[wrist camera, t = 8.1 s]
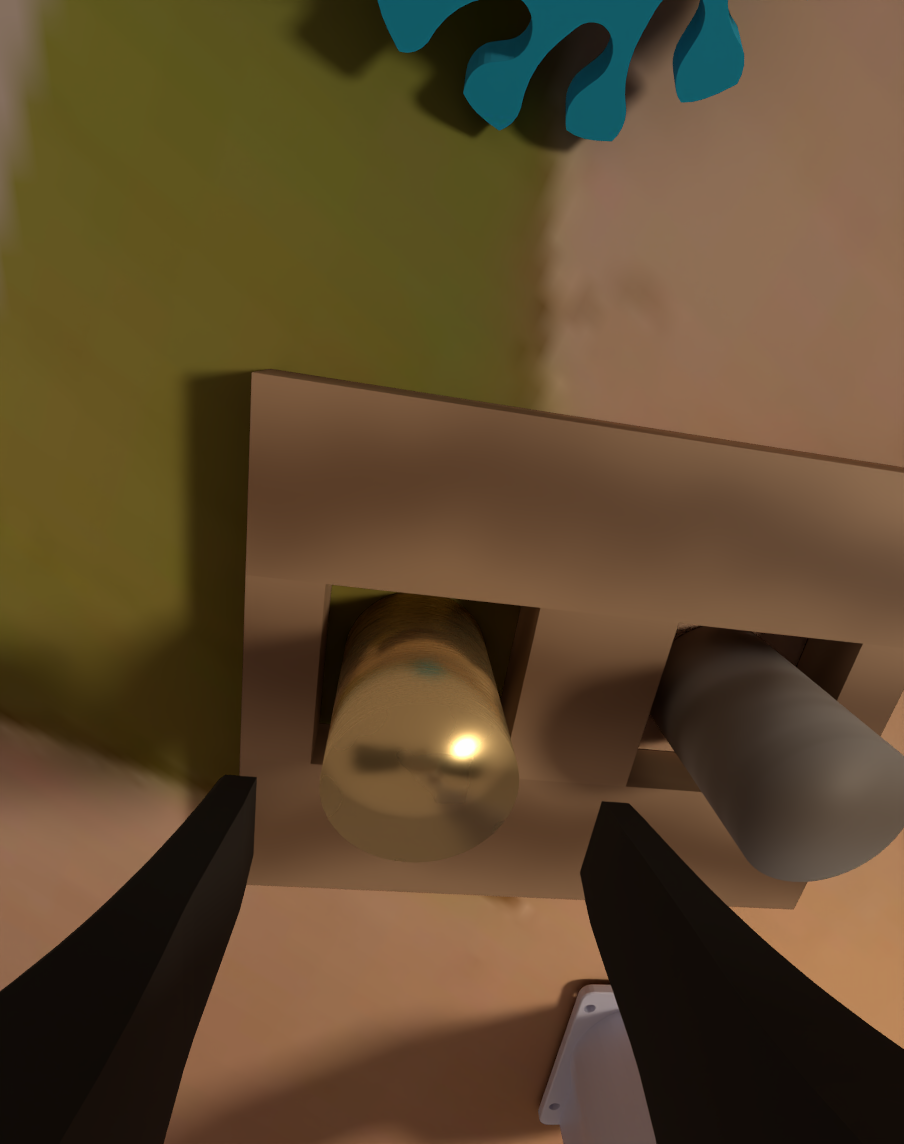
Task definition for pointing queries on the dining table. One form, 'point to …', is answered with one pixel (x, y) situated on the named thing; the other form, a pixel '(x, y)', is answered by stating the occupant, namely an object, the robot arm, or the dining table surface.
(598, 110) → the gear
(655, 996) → the robot arm
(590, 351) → the dining table surface
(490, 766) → the brass sleeve
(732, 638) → the walnut jig
